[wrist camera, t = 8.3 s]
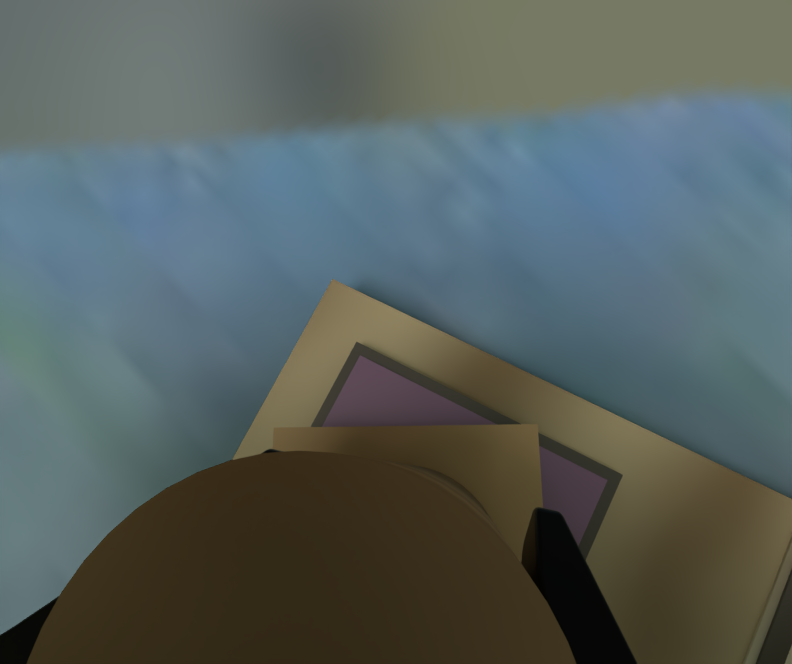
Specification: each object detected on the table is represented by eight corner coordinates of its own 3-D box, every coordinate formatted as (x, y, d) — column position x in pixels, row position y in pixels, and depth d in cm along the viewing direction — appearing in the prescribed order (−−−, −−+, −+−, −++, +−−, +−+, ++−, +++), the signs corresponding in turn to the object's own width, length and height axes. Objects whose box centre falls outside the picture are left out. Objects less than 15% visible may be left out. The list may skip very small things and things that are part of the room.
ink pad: (616, 473, 14) (624, 475, 14) (487, 767, 13) (488, 783, 13) (360, 345, 16) (355, 340, 15) (224, 598, 15) (213, 604, 14)
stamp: (525, 431, 14) (681, 333, 4) (540, 690, 12) (830, 1468, 3) (301, 433, 14) (-29, 355, 5) (292, 681, 13) (-201, 1294, 3)
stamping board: (1199, 711, 14) (1336, 757, 11) (1078, 1183, 12) (1211, 1336, 10) (346, 298, 18) (331, 276, 16) (182, 597, 17) (141, 616, 15)
